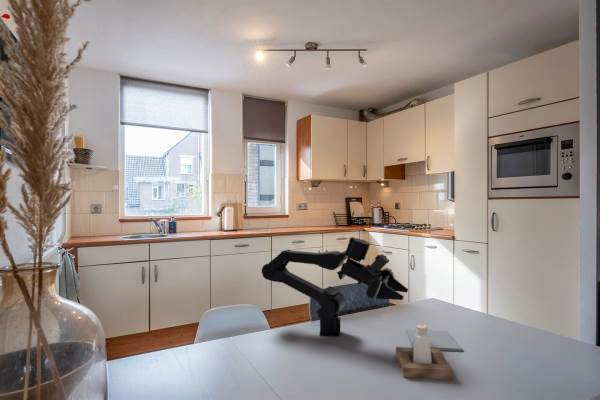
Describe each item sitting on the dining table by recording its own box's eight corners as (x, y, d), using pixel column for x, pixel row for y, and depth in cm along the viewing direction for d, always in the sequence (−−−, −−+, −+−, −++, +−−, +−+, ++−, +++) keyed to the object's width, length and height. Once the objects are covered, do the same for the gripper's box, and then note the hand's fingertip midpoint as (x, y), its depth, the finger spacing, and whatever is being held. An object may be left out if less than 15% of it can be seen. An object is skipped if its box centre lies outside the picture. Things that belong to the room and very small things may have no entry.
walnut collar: (403, 376, 83) (403, 367, 83) (395, 355, 95) (395, 346, 95) (452, 380, 82) (452, 369, 82) (439, 357, 93) (439, 348, 94)
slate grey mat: (413, 349, 99) (413, 346, 99) (405, 331, 113) (405, 329, 113) (462, 351, 97) (462, 348, 97) (447, 333, 111) (447, 330, 111)
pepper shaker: (436, 366, 88) (435, 325, 89) (428, 374, 84) (427, 331, 85) (416, 360, 92) (416, 320, 92) (408, 367, 88) (407, 326, 88)
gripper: (360, 254, 99) (410, 277, 92) (374, 246, 115) (418, 265, 109) (347, 287, 100) (396, 312, 94) (363, 275, 117) (406, 295, 111)
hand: (405, 294), depth 102 cm, fingers open, 9 cm apart
